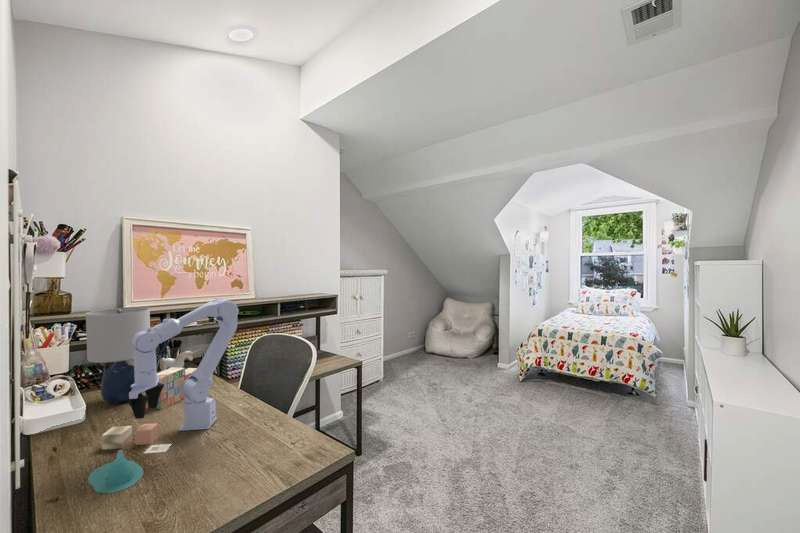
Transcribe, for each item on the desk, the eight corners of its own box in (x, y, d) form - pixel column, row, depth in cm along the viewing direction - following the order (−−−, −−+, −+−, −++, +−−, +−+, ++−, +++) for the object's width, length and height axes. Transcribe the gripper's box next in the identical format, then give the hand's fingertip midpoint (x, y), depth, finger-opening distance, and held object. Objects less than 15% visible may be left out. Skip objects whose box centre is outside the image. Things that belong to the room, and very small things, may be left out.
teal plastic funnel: (131, 453, 109) (130, 425, 109) (155, 479, 97) (154, 447, 96) (78, 472, 100) (77, 441, 100) (96, 504, 87) (95, 468, 87)
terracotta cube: (158, 436, 119) (158, 423, 119) (151, 444, 115) (151, 429, 114) (143, 438, 118) (143, 424, 118) (135, 445, 114) (135, 430, 114)
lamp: (152, 402, 147) (149, 310, 145) (85, 415, 135) (82, 315, 134) (151, 387, 163) (149, 304, 162) (92, 397, 152) (89, 308, 151)
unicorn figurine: (194, 381, 172) (193, 352, 171) (151, 381, 171) (150, 352, 171) (201, 376, 179) (201, 348, 178) (161, 376, 178) (160, 349, 178)
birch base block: (132, 439, 118) (132, 425, 117) (122, 448, 112) (121, 433, 112) (113, 440, 117) (113, 426, 117) (102, 449, 111) (101, 435, 111)
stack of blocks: (189, 388, 162) (189, 360, 162) (202, 389, 161) (201, 361, 161) (147, 408, 141) (146, 376, 141) (161, 409, 140) (160, 377, 140)
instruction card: (172, 444, 114) (172, 443, 114) (165, 452, 110) (165, 451, 110) (151, 445, 113) (151, 445, 113) (143, 453, 109) (143, 452, 109)
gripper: (144, 363, 122) (145, 404, 123) (117, 378, 108) (118, 424, 108) (167, 362, 123) (168, 403, 124) (143, 377, 109) (144, 422, 109)
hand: (146, 412), depth 116 cm, fingers open, 7 cm apart
